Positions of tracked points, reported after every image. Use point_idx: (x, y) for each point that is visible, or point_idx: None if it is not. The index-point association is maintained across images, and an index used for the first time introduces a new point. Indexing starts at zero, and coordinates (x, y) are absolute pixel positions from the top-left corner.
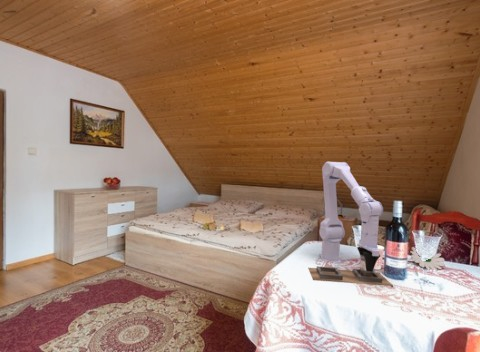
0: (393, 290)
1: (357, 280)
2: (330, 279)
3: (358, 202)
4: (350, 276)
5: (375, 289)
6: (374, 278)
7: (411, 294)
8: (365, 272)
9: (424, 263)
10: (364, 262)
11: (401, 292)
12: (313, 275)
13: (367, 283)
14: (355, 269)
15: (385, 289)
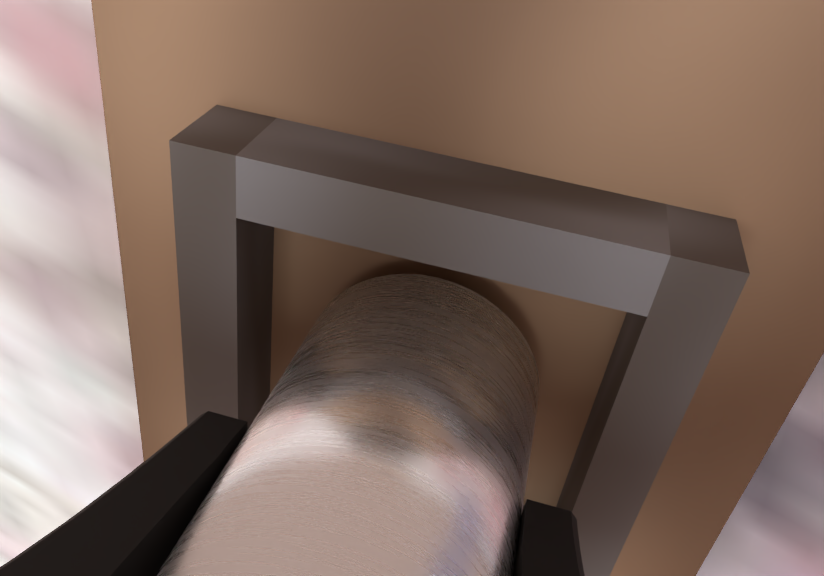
0: (63, 445)
1: (247, 80)
2: None
3: None
4: (475, 20)
5: (8, 229)
6: (188, 406)
7: (20, 543)
8: (286, 376)
9: None
10: (166, 570)
11: (36, 489)
12: None
13: (138, 211)
14: (682, 319)
15: (61, 371)
